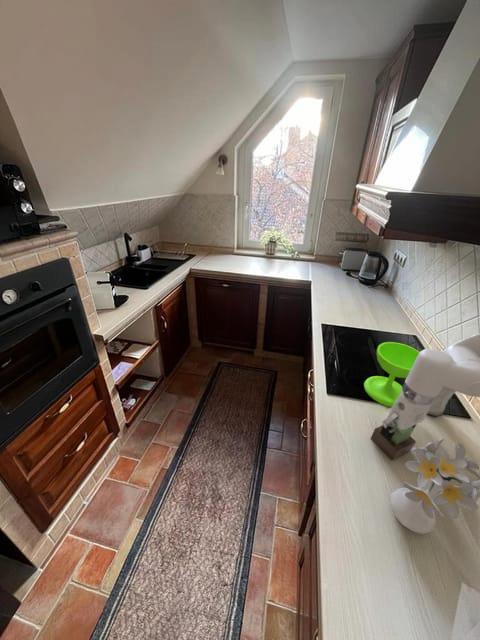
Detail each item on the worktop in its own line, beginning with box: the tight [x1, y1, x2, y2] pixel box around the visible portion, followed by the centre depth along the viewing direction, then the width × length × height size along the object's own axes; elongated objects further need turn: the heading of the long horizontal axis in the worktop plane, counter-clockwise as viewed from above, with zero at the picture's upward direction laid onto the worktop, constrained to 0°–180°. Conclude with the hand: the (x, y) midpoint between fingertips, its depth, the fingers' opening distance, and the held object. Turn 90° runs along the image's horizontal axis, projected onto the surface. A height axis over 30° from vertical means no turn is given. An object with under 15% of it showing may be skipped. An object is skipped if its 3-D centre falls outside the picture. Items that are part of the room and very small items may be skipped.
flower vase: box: [389, 437, 480, 535], centre depth 56 cm, size 13×18×25 cm
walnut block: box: [370, 424, 417, 462], centre depth 79 cm, size 8×8×5 cm
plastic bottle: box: [427, 386, 457, 417], centre depth 87 cm, size 6×7×20 cm
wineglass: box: [363, 341, 421, 408], centre depth 95 cm, size 16×16×18 cm
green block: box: [390, 419, 415, 445], centre depth 76 cm, size 5×5×5 cm
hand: (396, 431), depth 77 cm, fingers open, 9 cm apart
